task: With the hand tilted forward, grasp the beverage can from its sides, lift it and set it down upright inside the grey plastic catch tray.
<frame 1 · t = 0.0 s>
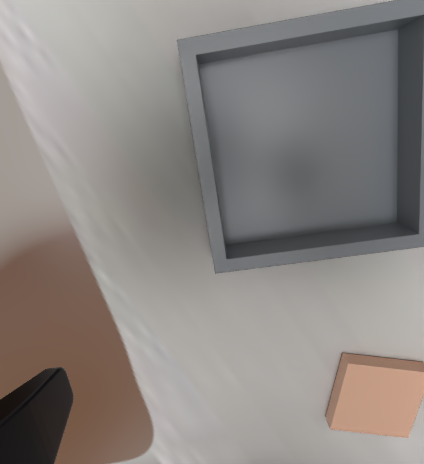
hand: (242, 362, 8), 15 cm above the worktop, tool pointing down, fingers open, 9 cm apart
catch tray: (301, 147, 21), on the worktop
tile b: (372, 390, 26), on the worktop
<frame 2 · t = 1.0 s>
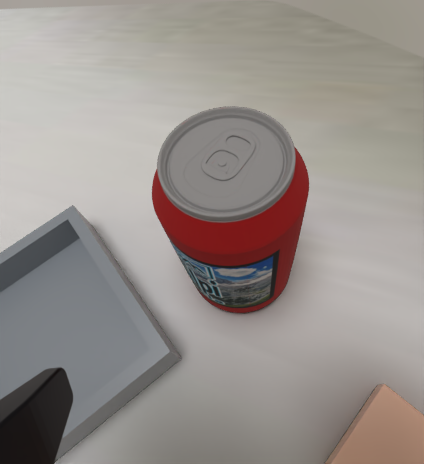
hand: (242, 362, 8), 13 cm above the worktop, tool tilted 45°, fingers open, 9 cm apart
catch tray: (54, 341, 23), on the worktop
beverage can: (240, 268, 24), on the worktop
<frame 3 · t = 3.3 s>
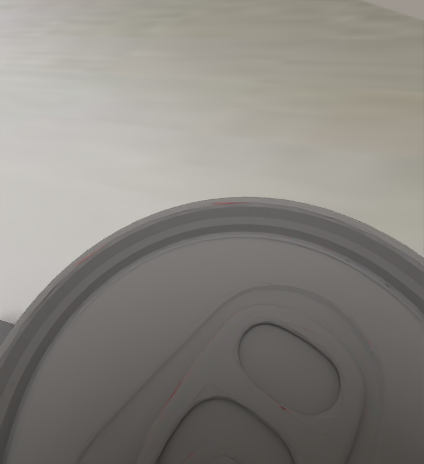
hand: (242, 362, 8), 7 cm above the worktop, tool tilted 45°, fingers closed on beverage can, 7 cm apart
beverage can: (254, 419, 14), on the worktop, touching gripper
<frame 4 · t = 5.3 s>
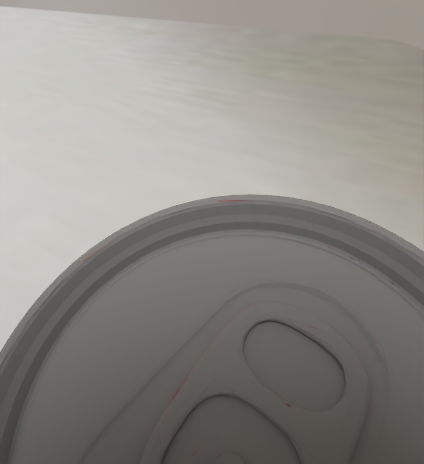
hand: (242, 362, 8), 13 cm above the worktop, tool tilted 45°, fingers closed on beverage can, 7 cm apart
beverage can: (256, 417, 14), point 6 cm above the worktop, touching gripper
when the fingers open (8 cm above the worktop, at t = 7.2 s): beverage can drops 1 cm, resting on catch tray.
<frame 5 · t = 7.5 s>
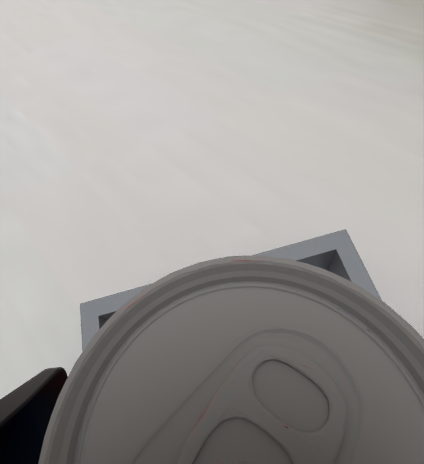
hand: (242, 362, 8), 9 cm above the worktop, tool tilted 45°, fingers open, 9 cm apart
catch tray: (255, 417, 15), on the worktop
beverage can: (258, 423, 15), resting on catch tray
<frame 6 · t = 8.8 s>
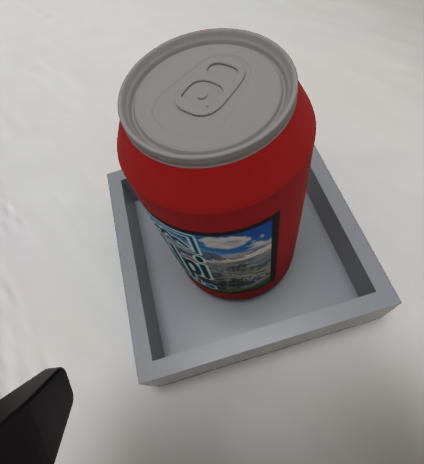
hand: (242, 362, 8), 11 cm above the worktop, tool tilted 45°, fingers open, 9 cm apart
catch tray: (235, 250, 21), on the worktop
beverage can: (237, 250, 21), resting on catch tray
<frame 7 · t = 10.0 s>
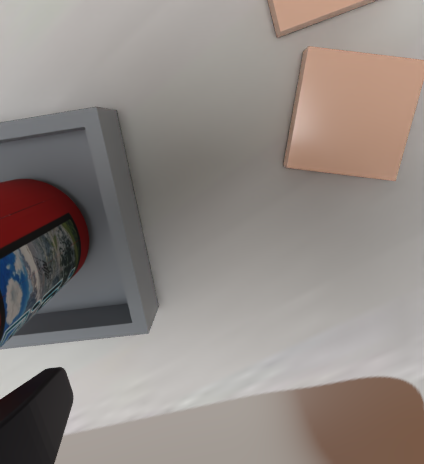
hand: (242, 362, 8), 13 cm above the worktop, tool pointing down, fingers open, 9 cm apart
catch tray: (43, 229, 21), on the worktop
beverage can: (42, 230, 21), resting on catch tray
tile b: (346, 117, 19), on the worktop
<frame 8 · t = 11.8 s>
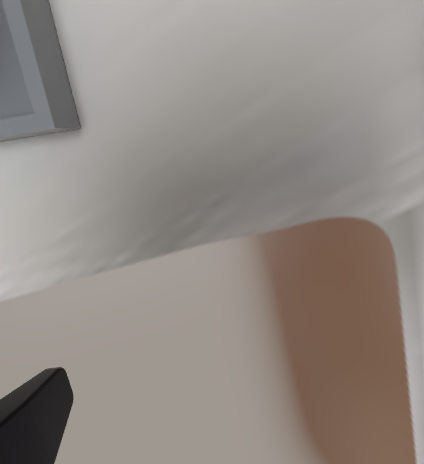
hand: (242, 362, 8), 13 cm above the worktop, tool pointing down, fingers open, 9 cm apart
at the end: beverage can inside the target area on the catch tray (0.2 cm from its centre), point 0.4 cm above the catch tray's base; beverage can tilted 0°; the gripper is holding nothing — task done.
